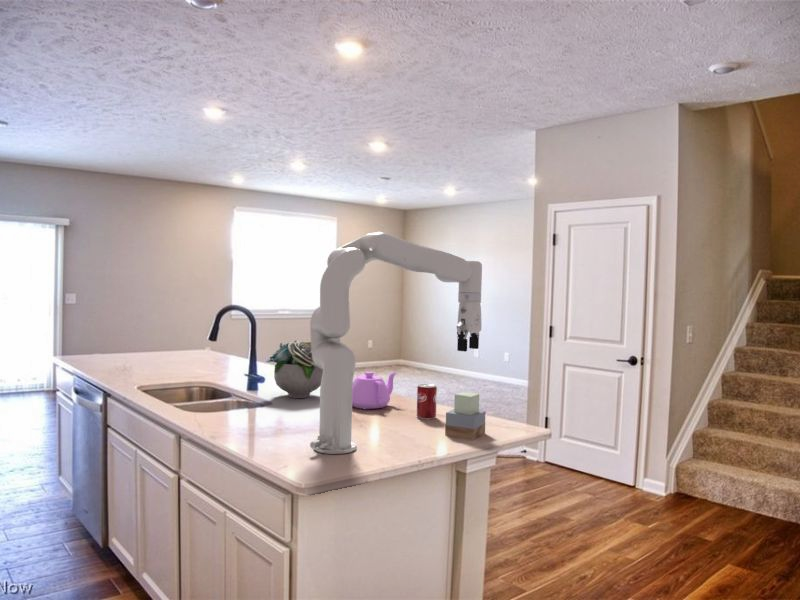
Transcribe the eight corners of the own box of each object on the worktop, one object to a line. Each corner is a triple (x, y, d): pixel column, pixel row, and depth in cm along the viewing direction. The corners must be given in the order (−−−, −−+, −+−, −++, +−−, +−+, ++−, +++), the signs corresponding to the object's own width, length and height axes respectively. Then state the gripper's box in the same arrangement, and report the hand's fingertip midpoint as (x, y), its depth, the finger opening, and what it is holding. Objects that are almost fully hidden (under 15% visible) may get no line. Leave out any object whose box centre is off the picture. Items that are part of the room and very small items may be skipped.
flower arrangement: (303, 405, 232) (304, 344, 232) (257, 397, 245) (258, 339, 244) (340, 395, 254) (341, 339, 253) (295, 389, 266) (296, 336, 266)
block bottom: (473, 441, 187) (473, 429, 187) (445, 436, 192) (445, 424, 192) (484, 434, 195) (485, 422, 195) (457, 430, 200) (458, 418, 200)
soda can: (419, 420, 212) (420, 387, 212) (414, 415, 219) (414, 384, 219) (438, 419, 214) (439, 387, 213) (432, 415, 221) (433, 383, 220)
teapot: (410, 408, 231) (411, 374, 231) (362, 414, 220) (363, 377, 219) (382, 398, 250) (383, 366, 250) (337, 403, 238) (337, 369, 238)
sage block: (470, 415, 189) (471, 396, 189) (454, 412, 192) (454, 394, 192) (478, 411, 194) (479, 394, 194) (462, 409, 197) (463, 391, 197)
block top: (474, 429, 186) (474, 416, 186) (445, 424, 191) (446, 412, 191) (485, 423, 195) (485, 411, 195) (457, 418, 200) (458, 407, 200)
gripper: (470, 298, 183) (468, 353, 183) (489, 298, 198) (488, 348, 198) (448, 298, 186) (446, 351, 187) (469, 297, 201) (467, 346, 202)
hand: (468, 349), depth 193 cm, fingers open, 9 cm apart
